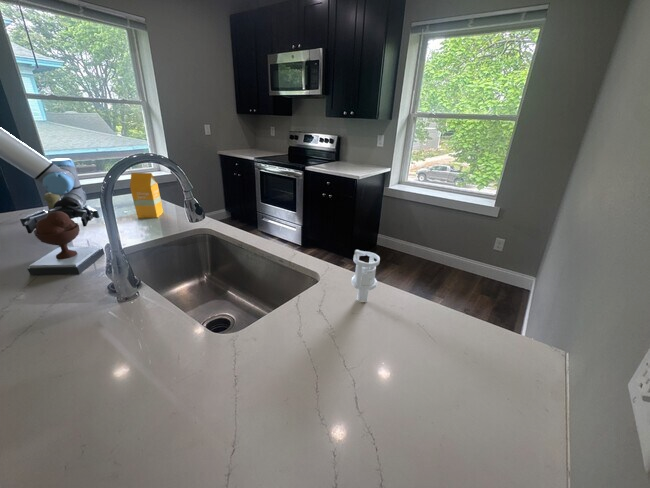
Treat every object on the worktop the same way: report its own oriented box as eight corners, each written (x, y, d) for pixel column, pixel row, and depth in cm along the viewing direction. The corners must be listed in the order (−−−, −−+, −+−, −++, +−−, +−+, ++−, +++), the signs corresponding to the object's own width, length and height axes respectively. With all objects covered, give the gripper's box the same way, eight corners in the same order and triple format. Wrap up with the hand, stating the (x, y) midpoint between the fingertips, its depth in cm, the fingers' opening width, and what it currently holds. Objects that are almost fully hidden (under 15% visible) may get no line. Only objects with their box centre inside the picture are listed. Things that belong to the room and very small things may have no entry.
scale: (29, 275, 91) (25, 266, 90) (61, 254, 104) (58, 246, 102) (79, 274, 93) (76, 265, 91) (104, 253, 105) (102, 245, 104)
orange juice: (144, 212, 145) (135, 171, 136) (163, 212, 146) (155, 171, 137) (137, 217, 138) (126, 174, 129) (157, 217, 139) (148, 175, 130)
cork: (46, 218, 134) (37, 194, 129) (59, 213, 139) (51, 190, 134) (58, 219, 133) (49, 195, 128) (70, 215, 138) (62, 191, 133)
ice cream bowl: (84, 245, 104) (70, 203, 97) (90, 256, 97) (75, 212, 90) (43, 254, 97) (25, 210, 90) (47, 266, 90) (28, 220, 83)
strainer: (357, 290, 90) (362, 245, 84) (378, 298, 87) (384, 252, 80) (345, 300, 85) (349, 254, 79) (367, 310, 81) (372, 262, 75)
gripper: (111, 211, 117) (107, 230, 101) (28, 220, 106) (7, 243, 89) (106, 193, 114) (101, 209, 98) (19, 200, 103) (-3, 220, 86)
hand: (56, 225), depth 94 cm, fingers open, 13 cm apart
